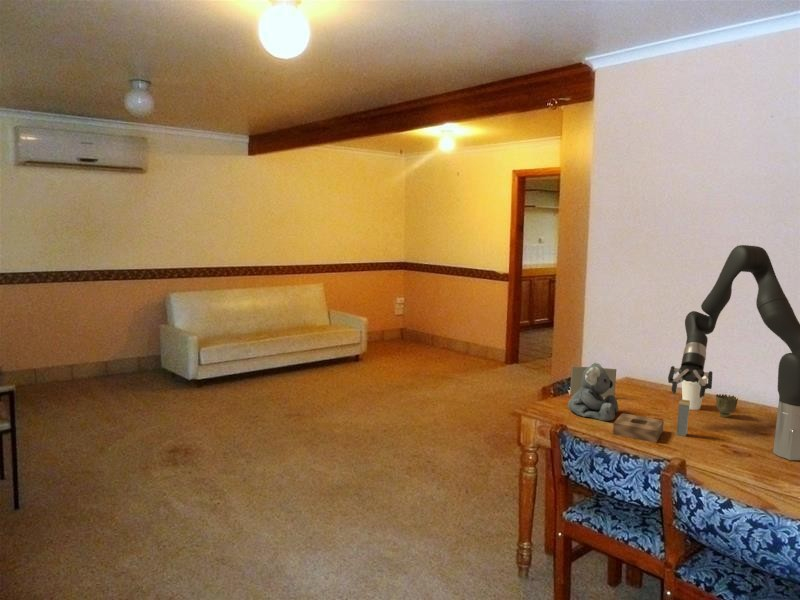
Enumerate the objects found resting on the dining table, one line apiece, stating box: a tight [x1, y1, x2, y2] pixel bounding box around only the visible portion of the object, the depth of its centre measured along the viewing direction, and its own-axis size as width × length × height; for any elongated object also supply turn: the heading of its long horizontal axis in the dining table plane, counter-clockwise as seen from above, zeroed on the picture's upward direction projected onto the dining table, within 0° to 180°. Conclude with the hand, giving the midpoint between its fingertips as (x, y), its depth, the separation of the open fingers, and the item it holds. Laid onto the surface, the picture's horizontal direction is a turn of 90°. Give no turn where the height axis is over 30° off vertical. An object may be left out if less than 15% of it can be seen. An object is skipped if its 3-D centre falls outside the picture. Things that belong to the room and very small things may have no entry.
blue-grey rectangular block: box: [675, 398, 690, 437], centre depth 213 cm, size 3×3×12 cm
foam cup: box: [681, 376, 708, 411], centre depth 247 cm, size 10×9×13 cm
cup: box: [715, 393, 739, 418], centre depth 237 cm, size 8×7×8 cm
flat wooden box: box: [612, 412, 665, 443], centre depth 214 cm, size 14×14×4 cm
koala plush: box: [567, 361, 619, 422], centre depth 234 cm, size 17×18×20 cm
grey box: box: [567, 365, 617, 397], centre depth 264 cm, size 18×12×13 cm
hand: (687, 394), depth 218 cm, fingers open, 8 cm apart
